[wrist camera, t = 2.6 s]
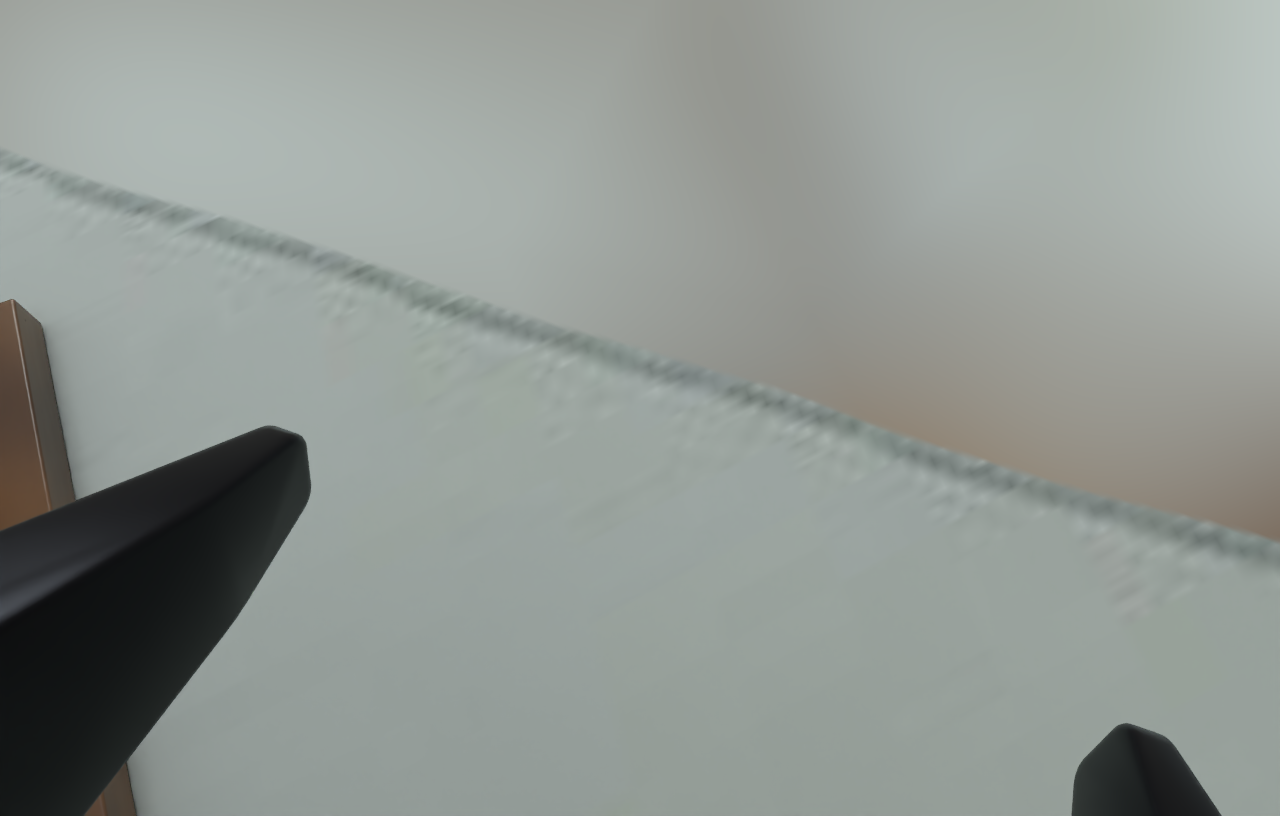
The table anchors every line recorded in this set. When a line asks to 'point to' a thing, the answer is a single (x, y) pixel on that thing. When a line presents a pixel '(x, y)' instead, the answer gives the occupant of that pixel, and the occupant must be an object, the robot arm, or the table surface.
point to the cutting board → (37, 462)
